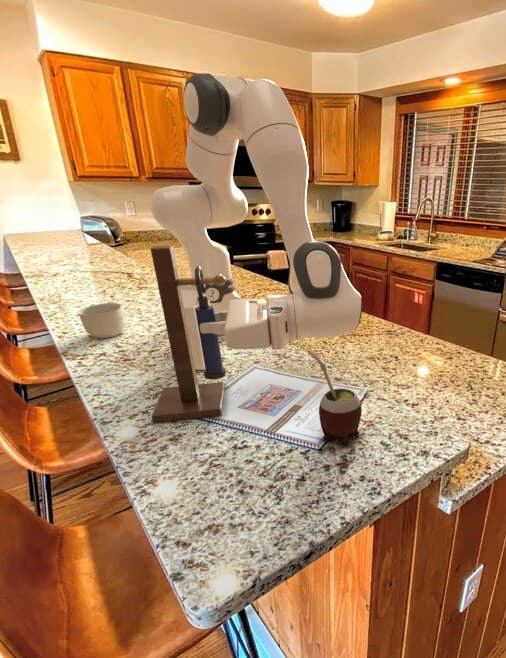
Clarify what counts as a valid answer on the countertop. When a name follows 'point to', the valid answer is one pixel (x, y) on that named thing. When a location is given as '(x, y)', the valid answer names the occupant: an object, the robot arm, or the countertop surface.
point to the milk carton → (193, 323)
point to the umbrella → (208, 339)
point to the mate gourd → (338, 411)
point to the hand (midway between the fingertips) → (201, 323)
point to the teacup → (103, 319)
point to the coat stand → (182, 348)
